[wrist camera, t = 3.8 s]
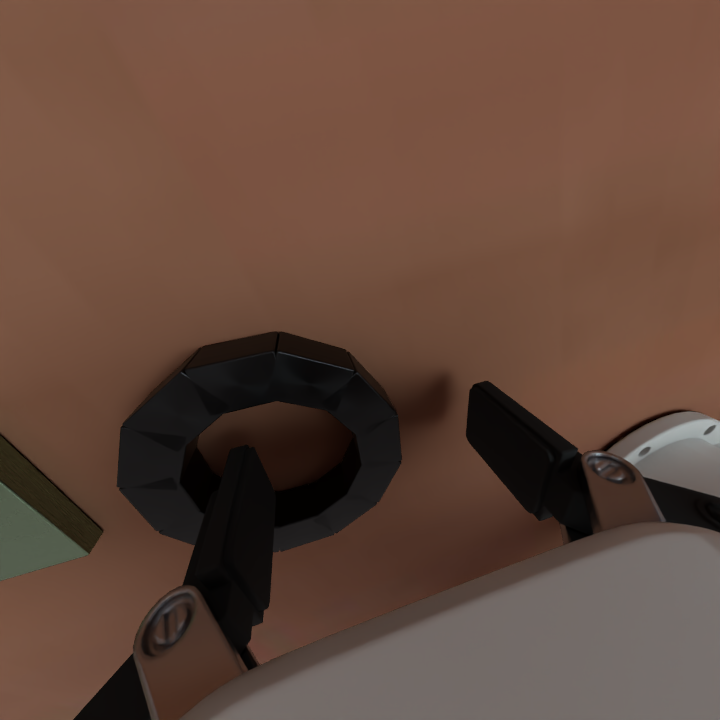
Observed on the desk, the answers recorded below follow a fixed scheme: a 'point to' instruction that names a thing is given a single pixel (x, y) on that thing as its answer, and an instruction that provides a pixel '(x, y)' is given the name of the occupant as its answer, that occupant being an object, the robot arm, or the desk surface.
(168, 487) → the black ring
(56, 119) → the desk surface
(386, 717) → the robot arm
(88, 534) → the post
